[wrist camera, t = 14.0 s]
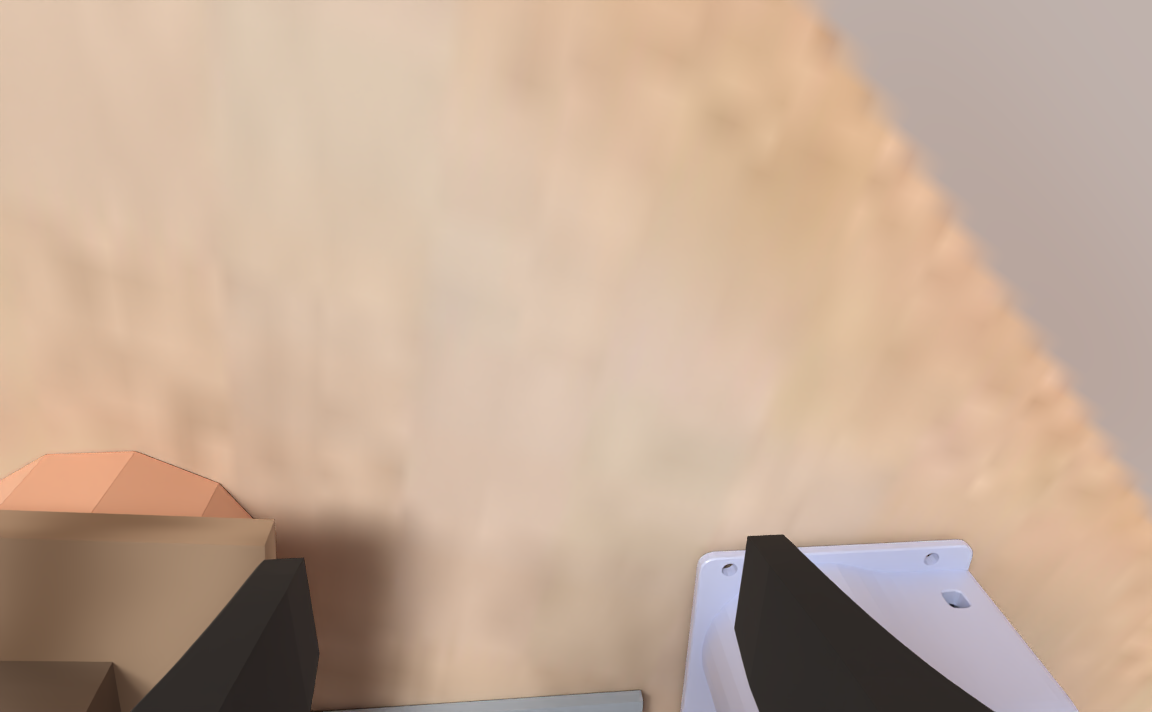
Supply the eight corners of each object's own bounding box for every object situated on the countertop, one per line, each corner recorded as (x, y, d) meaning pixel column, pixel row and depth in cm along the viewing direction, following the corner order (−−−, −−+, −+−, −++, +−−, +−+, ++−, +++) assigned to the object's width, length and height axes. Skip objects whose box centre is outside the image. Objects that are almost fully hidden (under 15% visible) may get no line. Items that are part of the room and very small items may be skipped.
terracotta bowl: (254, 447, 23) (212, 535, 20) (296, 671, 27) (266, 779, 23) (-81, 458, 22) (-189, 554, 19) (13, 689, 26) (-62, 804, 23)
